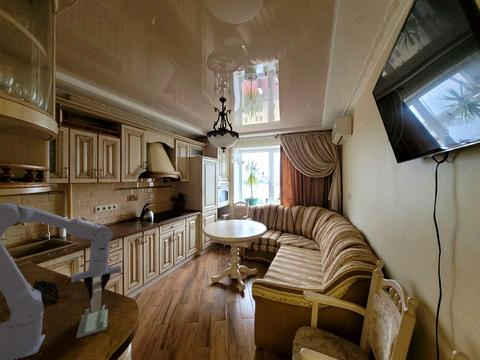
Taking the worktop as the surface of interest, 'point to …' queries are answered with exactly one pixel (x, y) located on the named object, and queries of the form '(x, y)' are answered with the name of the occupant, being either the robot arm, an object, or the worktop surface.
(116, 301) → the worktop surface
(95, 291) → the beige rectangular block
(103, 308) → the rack
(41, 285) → the decorative element
